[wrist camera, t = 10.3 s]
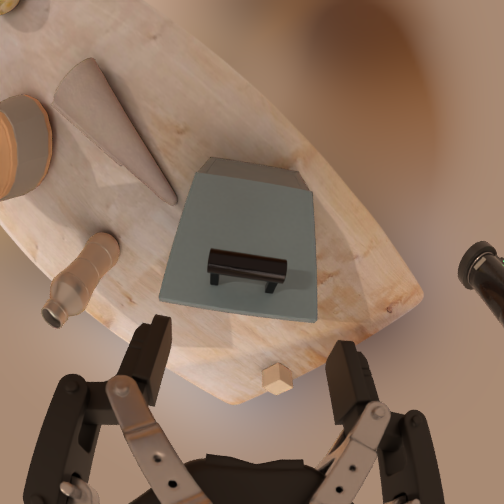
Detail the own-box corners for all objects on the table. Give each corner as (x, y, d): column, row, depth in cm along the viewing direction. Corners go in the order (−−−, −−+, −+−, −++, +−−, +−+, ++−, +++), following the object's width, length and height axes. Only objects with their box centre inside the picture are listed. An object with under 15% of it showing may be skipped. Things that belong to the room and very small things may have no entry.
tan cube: (278, 362, 61) (279, 379, 57) (291, 371, 63) (293, 387, 58) (262, 370, 63) (262, 387, 58) (275, 379, 64) (276, 395, 60)
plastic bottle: (116, 225, 44) (54, 297, 27) (128, 258, 48) (79, 337, 30) (88, 231, 45) (25, 298, 28) (101, 262, 48) (49, 336, 31)
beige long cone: (210, 180, 36) (79, 56, 24) (166, 220, 39) (44, 106, 27) (212, 163, 43) (102, 58, 30) (175, 198, 45) (69, 100, 33)
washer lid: (314, 323, 23) (338, 300, 19) (159, 301, 22) (149, 272, 18) (310, 196, 31) (324, 163, 27) (195, 177, 30) (196, 140, 26)
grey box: (279, 253, 47) (283, 290, 38) (200, 241, 46) (188, 276, 37) (298, 171, 40) (310, 192, 31) (210, 157, 39) (196, 173, 30)
